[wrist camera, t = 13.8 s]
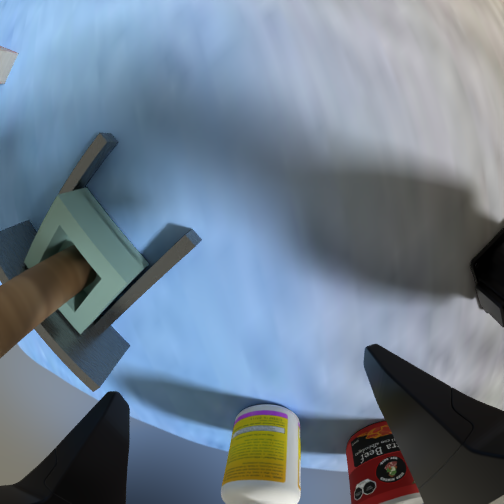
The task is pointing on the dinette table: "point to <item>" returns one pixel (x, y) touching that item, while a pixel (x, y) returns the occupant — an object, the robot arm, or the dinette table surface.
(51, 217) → the sliding socket block
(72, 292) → the walnut dowel
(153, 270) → the rail and backstop frame
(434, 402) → the robot arm
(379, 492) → the canned food
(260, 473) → the supplement bottle
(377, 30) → the dinette table surface
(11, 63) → the gable top carton
